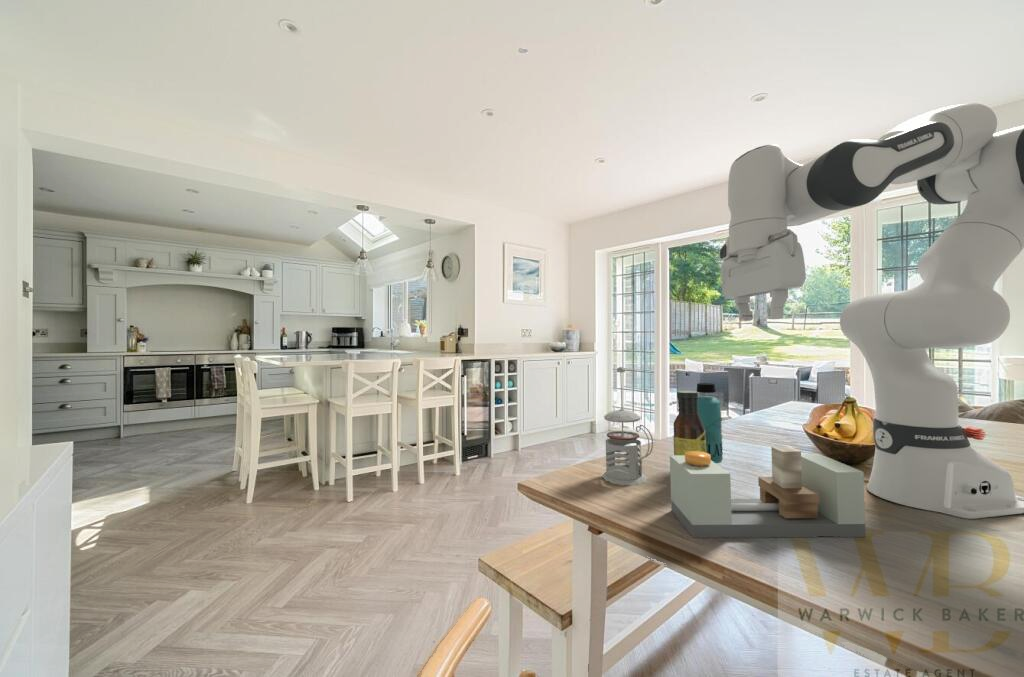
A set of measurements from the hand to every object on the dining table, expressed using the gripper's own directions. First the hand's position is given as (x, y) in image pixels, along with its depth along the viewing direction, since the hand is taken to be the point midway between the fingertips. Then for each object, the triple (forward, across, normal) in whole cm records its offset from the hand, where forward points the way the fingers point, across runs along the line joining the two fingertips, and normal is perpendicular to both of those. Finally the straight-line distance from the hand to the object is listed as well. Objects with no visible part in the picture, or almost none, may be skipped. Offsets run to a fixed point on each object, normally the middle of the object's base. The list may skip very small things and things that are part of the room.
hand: (759, 319), depth 72 cm
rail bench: (+34, -4, +3) cm, 34 cm away
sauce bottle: (+34, +13, +8) cm, 38 cm away
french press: (+34, +18, +20) cm, 44 cm away
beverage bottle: (+34, +26, -1) cm, 43 cm away
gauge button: (+29, -4, +13) cm, 32 cm away
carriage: (+32, -4, -1) cm, 32 cm away
